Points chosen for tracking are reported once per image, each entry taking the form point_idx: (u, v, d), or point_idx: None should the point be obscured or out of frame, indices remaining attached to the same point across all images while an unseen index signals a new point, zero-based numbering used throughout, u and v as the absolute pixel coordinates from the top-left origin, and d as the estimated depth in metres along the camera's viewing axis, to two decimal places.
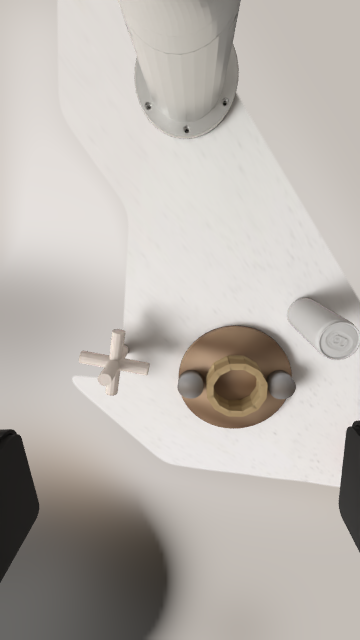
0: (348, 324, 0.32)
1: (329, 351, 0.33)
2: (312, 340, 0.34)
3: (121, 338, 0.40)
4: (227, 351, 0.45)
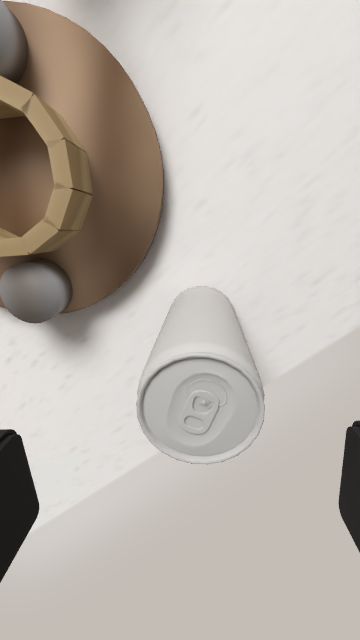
0: (255, 427, 0.10)
1: (164, 389, 0.10)
2: (185, 336, 0.11)
3: None
4: (97, 151, 0.18)
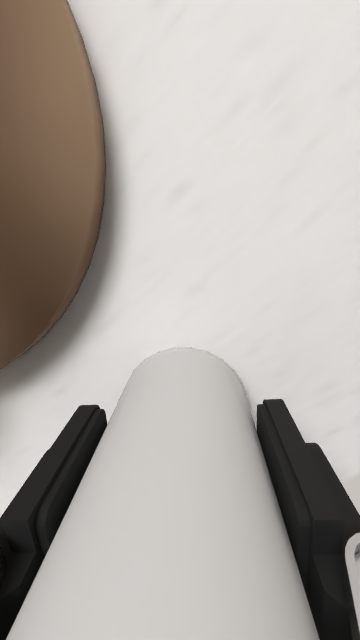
0: None
1: None
2: None
3: None
4: None
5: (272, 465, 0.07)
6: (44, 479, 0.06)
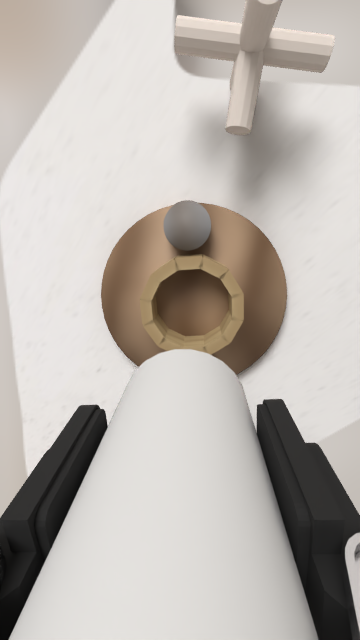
0: None
1: None
2: None
3: (317, 59, 0.18)
4: (245, 286, 0.27)
5: (272, 465, 0.07)
6: (44, 479, 0.06)
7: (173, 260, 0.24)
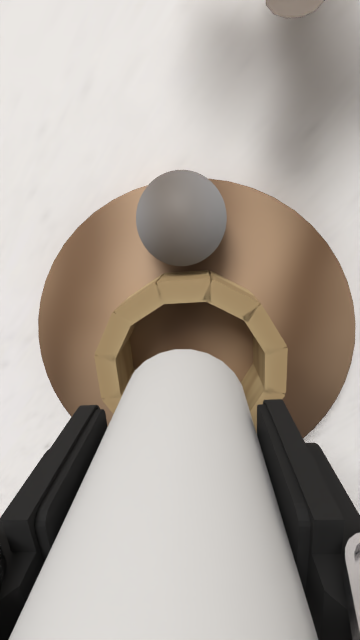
0: None
1: None
2: None
3: None
4: (283, 325, 0.16)
5: (272, 465, 0.07)
6: (44, 479, 0.06)
7: (154, 285, 0.13)
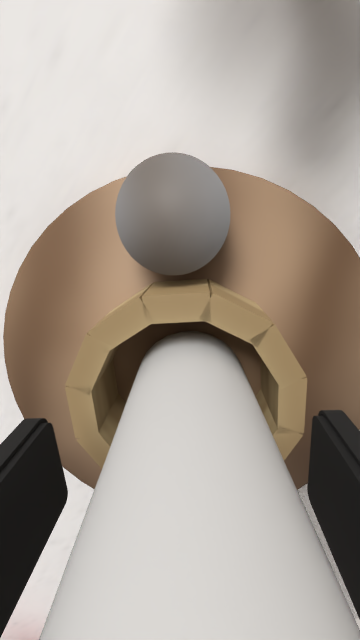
0: None
1: None
2: (146, 626, 0.03)
3: None
4: (298, 345, 0.13)
5: (344, 485, 0.06)
6: None
7: (139, 301, 0.10)
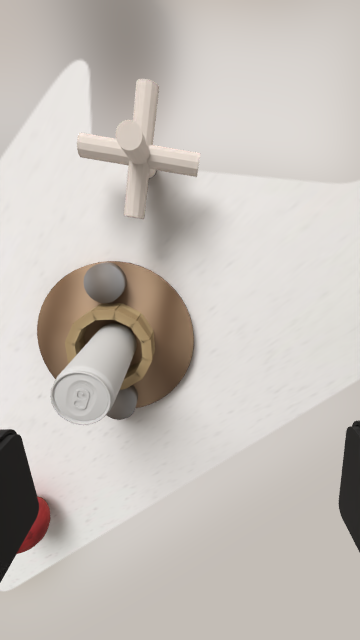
0: (108, 405, 0.22)
1: (63, 388, 0.21)
2: (76, 362, 0.22)
3: (189, 170, 0.24)
4: (159, 329, 0.33)
5: None
6: None
7: (91, 312, 0.29)
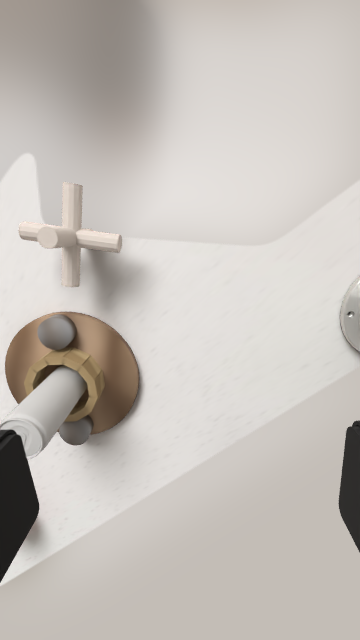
0: (40, 445, 0.27)
1: None
2: (17, 409, 0.28)
3: (110, 249, 0.29)
4: (107, 369, 0.38)
5: None
6: None
7: (43, 358, 0.35)
